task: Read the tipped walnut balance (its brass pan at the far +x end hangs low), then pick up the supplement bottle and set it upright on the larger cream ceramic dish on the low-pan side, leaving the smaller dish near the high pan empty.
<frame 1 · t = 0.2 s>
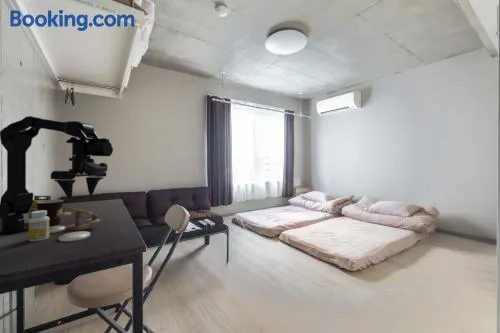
hand: (80, 196, 86), 14 cm above the table, fingers open, 9 cm apart
crayon box: (39, 222, 100), on the table
balance: (78, 228, 93), on the table
coffee mug: (54, 223, 99), on the table
dish low: (75, 237, 82), on the table
dish high: (53, 230, 89), on the table
supplement bottle: (39, 239, 80), on the table
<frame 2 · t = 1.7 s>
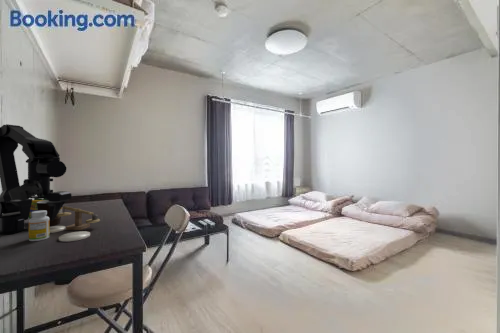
hand: (39, 220, 80), 7 cm above the table, fingers open, 9 cm apart
nothing on the table moved.
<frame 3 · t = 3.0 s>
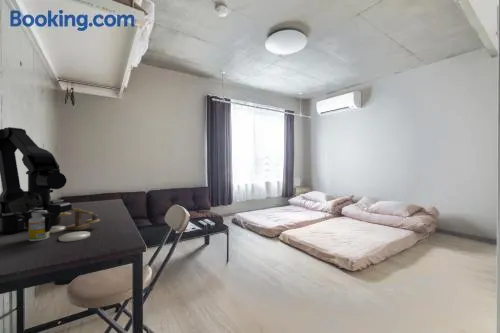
hand: (39, 231, 80), 3 cm above the table, fingers closed on supplement bottle, 5 cm apart
supplement bottle: (39, 239, 80), on the table, touching gripper
everything else where it was.
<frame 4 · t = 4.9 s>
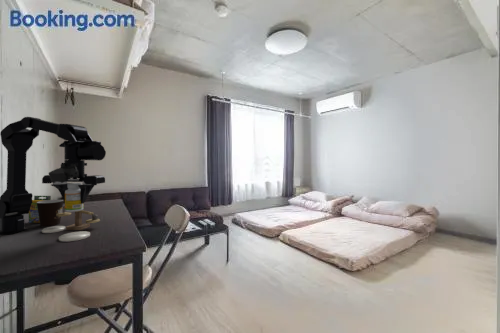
hand: (74, 203, 81), 12 cm above the table, fingers closed on supplement bottle, 5 cm apart
supplement bottle: (74, 210, 81), point 10 cm above the table, touching gripper
everything else where it was.
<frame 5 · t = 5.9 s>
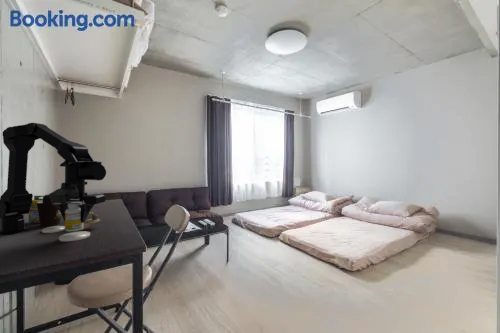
hand: (74, 222, 82), 5 cm above the table, fingers closed on supplement bottle, 5 cm apart
supplement bottle: (74, 229, 82), point 3 cm above the table, touching gripper
everything else where it was.
when the fingers open (5 cm above the table, at t = 6.7 s): supplement bottle drops 2 cm, resting on dish low.
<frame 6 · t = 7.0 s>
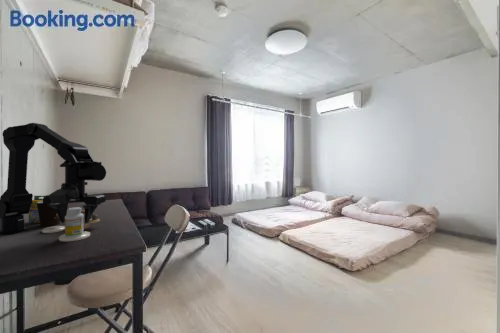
hand: (74, 222, 82), 5 cm above the table, fingers open, 8 cm apart
supplement bottle: (74, 235, 82), point 1 cm above the table, touching dish low
everything else where it was.
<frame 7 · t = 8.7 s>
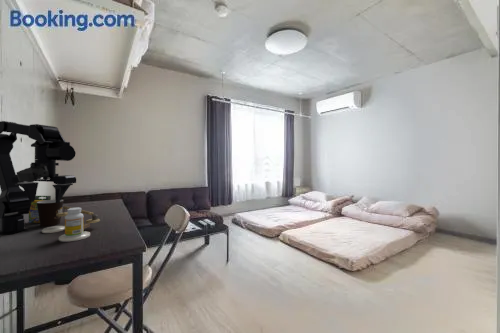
hand: (44, 202, 82), 12 cm above the table, fingers open, 9 cm apart
nothing on the table moved.
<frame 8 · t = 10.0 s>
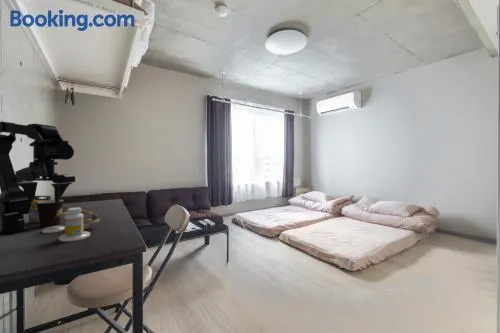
hand: (44, 201, 82), 13 cm above the table, fingers open, 9 cm apart
nothing on the table moved.
at the end: supplement bottle 0.2 cm from the dish low (horizontally); supplement bottle tilted 0°; the gripper is holding nothing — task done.
